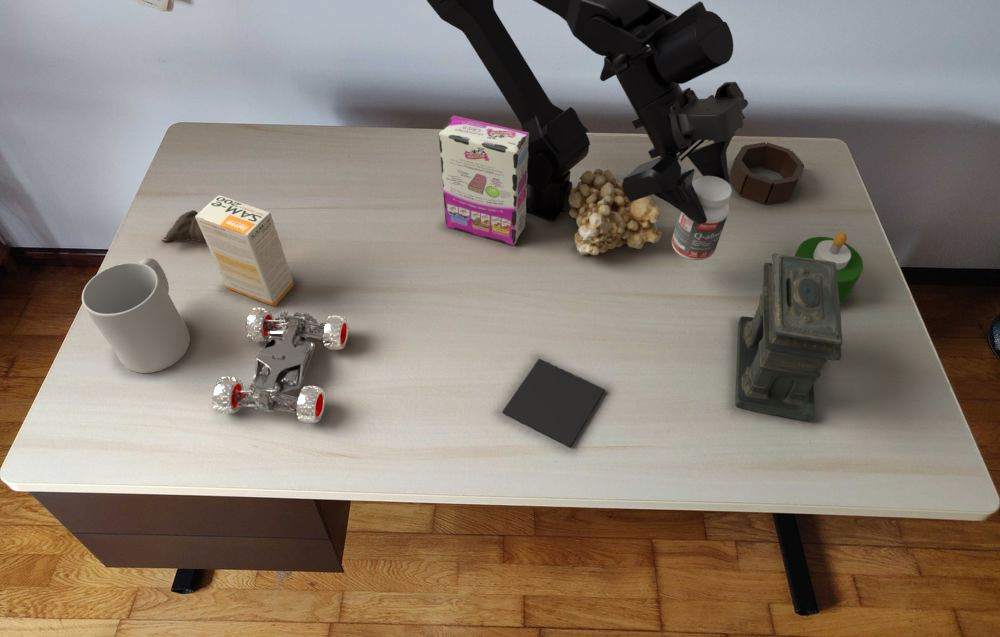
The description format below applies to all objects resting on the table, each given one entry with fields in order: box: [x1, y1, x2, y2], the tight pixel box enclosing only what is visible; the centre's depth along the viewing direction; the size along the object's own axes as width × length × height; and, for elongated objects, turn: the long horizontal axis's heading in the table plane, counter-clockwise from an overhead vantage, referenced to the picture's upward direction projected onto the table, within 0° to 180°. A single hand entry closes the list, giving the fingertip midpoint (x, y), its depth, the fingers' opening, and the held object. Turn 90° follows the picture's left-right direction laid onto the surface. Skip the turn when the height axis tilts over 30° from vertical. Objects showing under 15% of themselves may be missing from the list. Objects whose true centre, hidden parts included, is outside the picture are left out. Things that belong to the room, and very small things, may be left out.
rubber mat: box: [502, 358, 605, 449], centre depth 83 cm, size 9×9×1 cm
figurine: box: [161, 209, 207, 244], centre depth 99 cm, size 6×4×12 cm
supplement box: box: [195, 194, 295, 307], centre depth 90 cm, size 8×5×13 cm, turn 65°
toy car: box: [211, 307, 350, 424], centre depth 84 cm, size 15×12×5 cm
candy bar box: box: [438, 114, 529, 246], centre depth 96 cm, size 11×5×16 cm, turn 68°
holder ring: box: [729, 141, 805, 206], centre depth 108 cm, size 10×10×4 cm
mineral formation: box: [568, 168, 663, 256], centre depth 100 cm, size 8×13×15 cm
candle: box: [794, 232, 864, 307], centre depth 92 cm, size 8×8×10 cm
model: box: [734, 253, 844, 422], centre depth 81 cm, size 14×9×15 cm, turn 168°
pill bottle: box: [671, 175, 733, 261], centre depth 88 cm, size 6×6×10 cm
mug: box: [81, 257, 191, 374], centre depth 85 cm, size 12×8×11 cm
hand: (715, 210), depth 85 cm, fingers closed on pill bottle, 5 cm apart
